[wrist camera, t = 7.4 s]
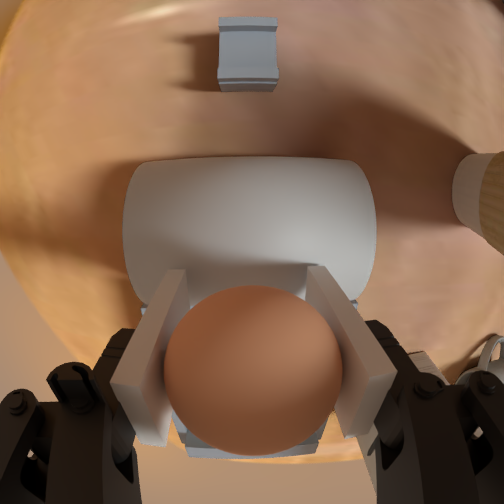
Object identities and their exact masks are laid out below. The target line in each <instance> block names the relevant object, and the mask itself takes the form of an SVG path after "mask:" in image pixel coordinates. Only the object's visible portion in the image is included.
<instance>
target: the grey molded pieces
mask: <svg viewBox="0 0 504 504" xmlns="http://www.w3.org/2000/svg"><path fill="white" fill-rule="evenodd" d="M277 27H278V25H277V18H273V17H219V31H220V37H219V68H218V77H217V79H218V82H219V86H220V89H221V92H232V91H267V92H273V90H274V88H275V87H276V85H277V81H278V79H279V68H277V59H276V30H277ZM376 234H377V229H376V213H375V206H374V200H373V196H372V192H371V188H370V186H369V183H368V180H367V178H366V176H365V174H364V172H363V171H362V169H361V168H360V167H359V166H358V164H356V163H355V162H353V161H351V160H341V159H327V158H308V157H277V156H238V157H206V158H188V159H173V160H161V161H150V162H144V163H142V164H140V165H139V166H138V167H137V169H136V170H135V172H134V173H133V175H132V178H131V180H130V182H129V186H128V189H127V193H126V197H125V202H124V210H123V222H122V238H123V251H124V258H125V263H126V268H127V272H128V276H129V279H130V282H131V285H132V287H133V289H134V291H135V293H136V295H137V296H138V298H139V299H140V300H141V301H142V302H143V305H142V307H141V312H142V316H143V314H144V312H145V310H146V309H147V307H148V305H149V303H150V301H151V299H152V298H153V296H154V294H155V292H156V290H157V288H158V287H159V285H160V283H161V281H162V279H163V278H164V276H165V274H166V272H167V271H168V269H186V277H187V286H188V295H189V303H190V309H192V308H193V307H194V306H195V305H196V304H198V303H199V302H200V301H202V300H203V299H205V298H207V297H208V296H210V295H212V294H214V293H217V292H219V291H222V290H225V289H228V288H233V287H238V286H246V285H262V286H269V287H274V288H278V289H282V290H285V291H287V292H290V293H292V294H294V295H296V296H298V297H299V298H301V299H303V300H304V301H305V293H306V281H307V268H308V266H325V267H326V268H327V269H328V271H329V272H330V274H331V275H332V276H333V278H334V279H335V280H336V282H337V283H338V285H339V286H340V287H341V289H342V290H343V292H344V293H345V294H346V296H347V297H348V299H349V300H350V301H351V303H352V304H353V306H354V307H355V309H356V310H357V305H358V303H357V302H356V300H355V299H356V298H357V297H358V296H359V295H360V294H361V293H362V291H363V290H364V288H365V286H366V284H367V282H368V280H369V277H370V274H371V271H372V267H373V262H374V257H375V250H376ZM172 419H173V421H174V424H175V427H176V429H177V432H178V434H179V437H180V440H181V442H182V443H184V444H185V448H186V451H187V453H188V456H189V457H196V458H216V459H255V458H274V457H286V456H296V455H305V454H312V453H315V452H316V449H317V447H318V444H319V442H318V440H319V439H321V437H322V434H323V431H324V428H325V426H326V423H327V420H328V418H327V419H326V421H325V422H324V423H323V424H322V426H321V427H320V428H319V429H318V430H317V431H316V432H315V433H313V434H312V435H311V436H310V437H309V438H307V439H306V440H305V441H303V442H301V443H300V444H298V445H296V446H294V447H292V448H290V449H288V450H285V451H282V452H279V453H275V454H270V455H263V456H242V455H236V454H231V453H227V452H224V451H222V450H219V449H216V448H214V447H212V446H210V445H208V444H206V443H205V442H203V441H202V440H200V439H199V438H197V437H196V436H195V435H193V434H192V433H191V432H190V431H189V430H188V429H187V428H186V427H185V426H184V424H183V423H182V422H181V421H180V419H179V418H178V416H177V415H176V413H175V412H174V410H173V412H172Z"/></svg>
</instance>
